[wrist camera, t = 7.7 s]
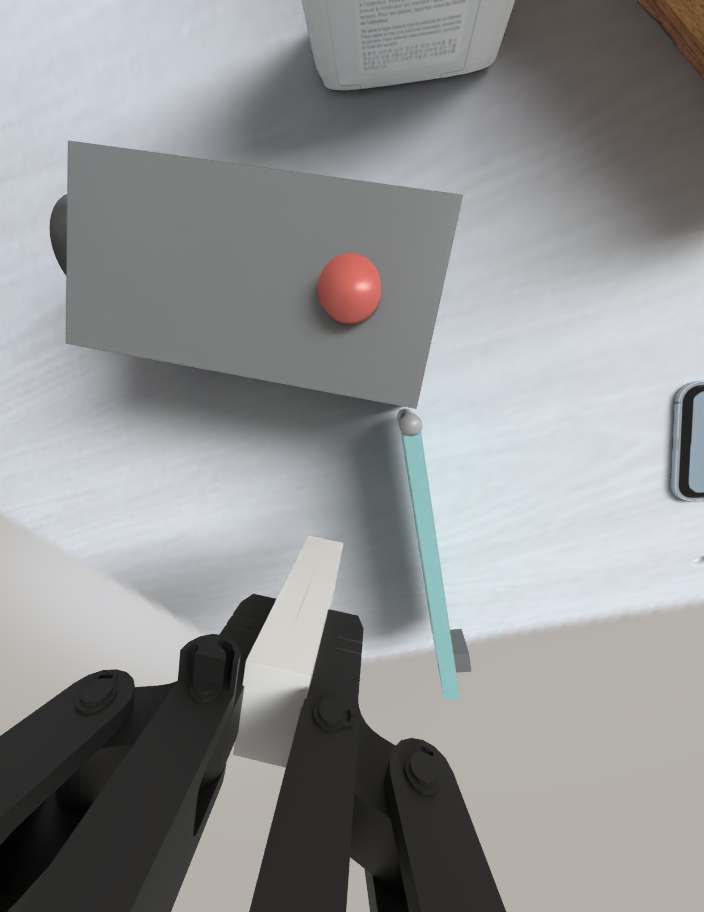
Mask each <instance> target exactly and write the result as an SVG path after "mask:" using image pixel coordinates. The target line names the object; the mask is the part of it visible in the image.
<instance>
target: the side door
mask: <svg viewBox="0 0 704 912" xmlns="http://www.w3.org/2000/svg"><path fill="white" fill-rule="evenodd" d="M397 420H398V423H399V426H400V430H401V436H402V443H403V449H404V455H405V462H406V468H407V475H408V481H409V488H410V494H411V501H412V507H413V513H414V520H415V526H416V533H417V539H418V546H419V552H420V559H421V565H422V571H423V578H424V584H425V591H426V597H427V604H428V610H429V617H430V623H431V629H432V634H433V640H434V645H435V651H436V657H437V661H438V668H439V673H440V679H441V685H442V690H443V696H444V700H446V699H460V696H459V689H458V683H457V676H456V672H470V671H471V666H470V659H469V652H468V649H467V646H466V642H465V639H464V636H463V633H462V629H455V630H450V628H449V621H448V614H447V607H446V600H445V593H444V586H443V580H442V573H441V566H440V559H439V552H438V545H437V538H436V531H435V525H434V518H433V511H432V504H431V497H430V490H429V483H428V477H427V470H426V463H425V456H424V449H423V442H422V435H421V432H420V431H421V429H422V421H421V419H420V418H419V417H418V416H417V415H415V414H414V413H413V412H411V411H410V410H409V409H402V410H400V411H399V412H398V414H397Z"/></svg>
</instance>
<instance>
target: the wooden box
mask: <svg viewBox="0 0 704 912" xmlns="http://www.w3.org/2000/svg"><path fill="white" fill-rule="evenodd" d="M637 1H638V3H639V4H640V5H641V6H642V7H643V8H644V9H645V10H646V11H647V13H649V14H650V15H651V16H652V17H653V18H655V19H656V20H658V21H659V22H660V23H661V24H662V27H663V28H664V30H665V31H666V33H667V34H668V35H669V36H670V37H671V39H672V40H673V42H674V44H675V45H676V47H677V48H678V49H679V50H680V52H681V53H682V54H683V55H684V56H685V57H686V58H687V60H688V61H689V62H690V63H691V64H692V65H693V67H694V68H695V69H696V70H697V71H698V73H699V74H700V75H701V76H702V77H703V79H704V0H637Z"/></svg>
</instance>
